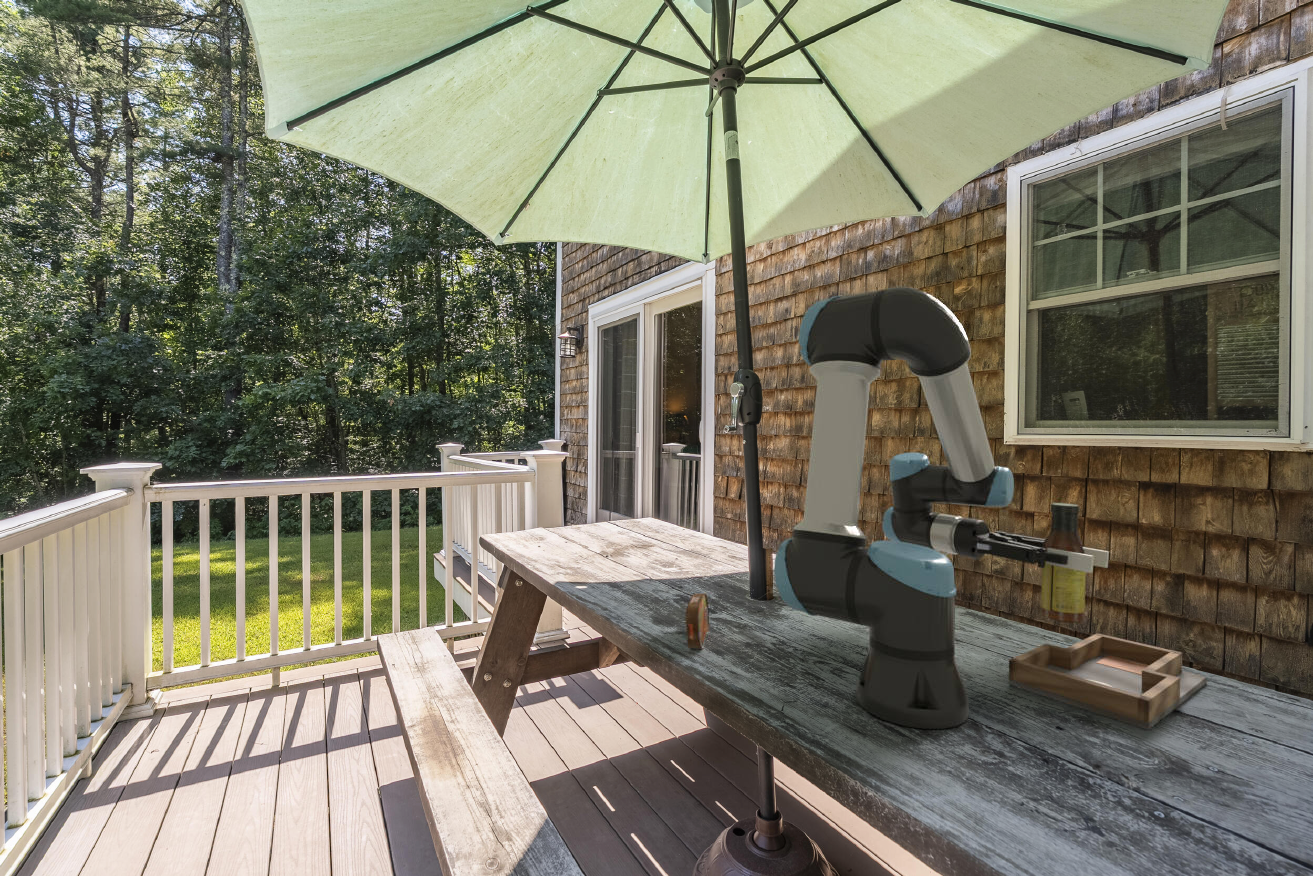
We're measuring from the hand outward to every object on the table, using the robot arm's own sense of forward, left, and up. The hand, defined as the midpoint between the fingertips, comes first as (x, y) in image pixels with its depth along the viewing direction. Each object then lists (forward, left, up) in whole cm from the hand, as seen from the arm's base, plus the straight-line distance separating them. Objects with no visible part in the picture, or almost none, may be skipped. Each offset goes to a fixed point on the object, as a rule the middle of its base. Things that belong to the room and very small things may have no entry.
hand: (1099, 561), depth 101 cm
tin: (-44, +51, -19) cm, 70 cm away
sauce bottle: (0, +6, -11) cm, 12 cm away
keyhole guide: (-4, -3, -19) cm, 19 cm away
